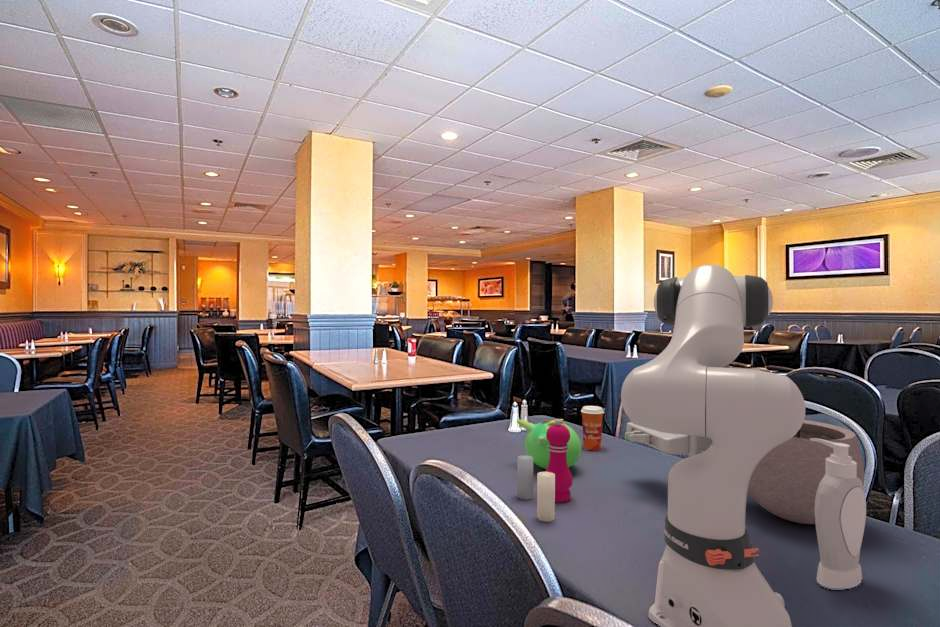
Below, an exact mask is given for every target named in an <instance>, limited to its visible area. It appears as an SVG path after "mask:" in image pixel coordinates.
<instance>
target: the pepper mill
mask: <svg viewBox="0 0 940 627" xmlns="http://www.w3.org/2000/svg"><path fill="white" fill-rule="evenodd" d="M560 419H561V418H556V419H554V420H555V425H552V426H550V427H549V428H548V430H547V433H546V438H547V440H548V441H549V444H548V446H549V448H548V450H549V451H550V460H549V464H548V466H547V469H545V471H544V472H551V473H554V474H555V503H565V502H564V501H566V502H568V500H569V501H570V500H571V490H570V488H571V487H572V485H573V475H572V472H571V470H570V467H568V464H567V459H566V452H567V451H568V445H567V443H568V442H569V440H570V432H569V430H568V428H566V427H565V426H563V425H561V424H562V423H563V422H562V421H563V420H562V421H561V420H560Z"/></svg>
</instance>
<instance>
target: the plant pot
mask: <svg viewBox="0 0 940 627" xmlns="http://www.w3.org/2000/svg"><path fill="white" fill-rule="evenodd" d="M807 389H808V387H805V388H804V389H803V390H802V391H800V392H801V394H802V396H803V395H804V394H805V393H806V391H807ZM810 438H817V439H823V440H827V441H830V442H834V443H844V444H848V445H850V447H848V456H850V457H852V461H854V462H856V463H857V478H859V479H860V480H861V481H862V485H863V486H864V483H865V466H864V460H863V455H862V452H861V448H860V444H859V442H858V438H857V435H856V434H855V432H854V431H852V430H850V429H847V428H844V427H841V426H838V425H834V424H831V423H825V422H820V421H814V420H808V419H804V422H803V424H802V426H801V428H800V429H799V431H798V432H797V433H796V434H795V435H794V436H793V437H792V438H791V439H789V440H788V441H786V442H783V443H782V444H780V445H778V446H777V447H775V448H773V449H772V450H771V451H770V452H768V453H767V454H766V455H765V456H764V457H763V458H762V459H761V461H760V462H759V463H758V465H757V466H756V468H755V469H754V471H753V473H752V476H751V478H750V481H749V486H748V492H747V493H749V495H750V496H751V498H753V500H754V501H755V502H756V503H757V505H759V506H760V507H762V508H763V509H764V510H766V511H767V512H769V513H770V514H772V515H774V516H776V517H778V518H780V519H783V520H786V521H790V522H793V523H798V524H803V525H816V523H815V510H814V509H815V498H816V493H817V489H818V487H819V483H820V481H821V480H822V479H823V477H824V476H825V473H826V472H825V463H826V458H827V457H830V454H833V453H834V450H833V448H832V447H829V446H827V445H825V444H823V443H820V442H816V441H810Z"/></svg>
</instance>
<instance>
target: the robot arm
mask: <svg viewBox="0 0 940 627" xmlns="http://www.w3.org/2000/svg"><path fill="white" fill-rule="evenodd" d="M773 304H774V297H773V294H772V290H771V288H770V287H769V285H768V282H767V281H766V280H765V279H764V278H762V277H761V276H756V275H748V274H746V275H744V276H743V275H742V276H741V275H733V273H732V272H731V271H729V269H727V268H725V267H723V266H721V265H717V264H702V265H700V266H698V267H695V268H693V269H692V270H691V271H689V272H688V273H687V275H685V276H684V277H679V278H678V277H677V276H674V277H670V278H666V279H664V280H662V281H661V282H660V283H659V284H658V285H657V288H656V291H655V292H654V296H653V307H654V310H655V313H656V315H657V318H658V320H659V321H660V322H661V323H662V324H663V325H666V326H672V327H673V332H672V335H671V339H670V342H669V343H668V345H667V346H666V347H665V348H664V349H663V350H662V351H661V352H660V353H659V354H658V355H657V356H656V357H655V358H652V360H650V361H647V362H646V363H644V364H642V365H639V366H636V367H635V368H633V369H632V370H631V371H630V372H629V373H628V374H627V376H626V377H625V379H624V381H623V383H622V387H621V392H620V400H621V405H622V409H623V410H624V413H625V415H626V416H627V418H628V419H629V422H627V423H626V428H625V429H626V432H625V433H624V439H625V440H626V441H628V442H631V443H641V444H646V445H648V446H649V447H652V448H654V449H656V450H659V451H660V452H663V453H665V454H668V455H669V454H670V455H684V456H687V457H686V458H683V459H680V460H679V461H677V462H675V463H674V465H673V466H672V467H671V468H670V470H669V472H668V476H667V514H666V515H665V517H664V524H663V532H664V539H663V540H664V541H665V544H666V546H665V549H664V551H663V554H662V557H661V558H660V560H659V563H658V567H657V577H656V578H657V579H656V585H655V586H656V587H655V597H654V603H653V604H652V605H651V606H650V607H649V608H648V619H649V620H650V621H651V622H653V623H654V624H655V623H656V624H658V625H659V626H661V627H793V626H792V622H791V617H790V615H789V613H788V610H786V608H785V605H786V604H785V600H784V598H783V596H782V595H781V594H780V593H779V592H776V591H775V592H774V590H773V589H772V587H771V586H770V584H769V582H768V581H767V580H766V578H765V576H764V575H763V573H761V571H760V569H759V568H758V566H757V565H756V563H755V560H756V559H755V557H759V556H760V554H759V553H756V552H759V551H760V549H759V547H754V548H753V547H752V541H751V538H750V536H749V532H748V529H747V527H746V515H747V514H746V512H747V511H746V510H747V499H748V493H749V492H748V486H749V481H750V478H751V476H752V473H753V471H754V469H755V468H756V466H757V465H758V463H759V462H760V461H761V459H762V458H763V457H764V456H765V455H766V454H767V453H768V452H770V451H771V450H772V449H773V448H775V447H777V446H778V445H780V444H782V443H783V442H786V441H788V440H789V439H791V438H792V437H793V436H794V435H795V434H796V433H797V432H798V431H799V429H800V428H801V426H802V424H803V422H804V420H805V418H806V402H805V399H804V396H803V395H802V394H801V392H802V391H801V390H800V389H799V387H798V385H797V384H796V383H795V382H794V381H793V380H792V379H791V378H789V376H787V375H782V374H779V373H774V372H770V371H765V370H760V369H756V368H741V367H739V368H737V367H726V366H729V365H730V364H731V363H733V362H734V361H735V360H736V359H737V358H738V356H739V355H740V354H741V352H742V350H743V348H744V346H745V345H744V344H745V337H744V336H745V334H744V327H745V329H746V328H753V327H757V326H758V327H759V326H761V325H763V324H764V323H765V322H766V321H767V320H768V318H769V316H770V314H771V312H772V309H773ZM697 452H699V453H697ZM658 625H657V626H658ZM659 626H658V627H659Z"/></svg>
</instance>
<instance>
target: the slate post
mask: <svg viewBox="0 0 940 627" xmlns="http://www.w3.org/2000/svg"><path fill="white" fill-rule="evenodd" d="M516 459H517V460H516V461H517V464H516V465H517V467H516V469H517V472H516V473H517V475H516V476H517V477H516V478H517V479H516V480H517V481H516V482H517V483H516V484H517V485H516V487H517V488H516V489H517V490H516V491H517V492H516V496H517V498H518V499H519V498H520V500H523V499H524V501H529V500H528V499H530V500H532V499H533V498H534V462H533V457H532V456H528V454H526V455H518V456H517V458H516Z"/></svg>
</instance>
